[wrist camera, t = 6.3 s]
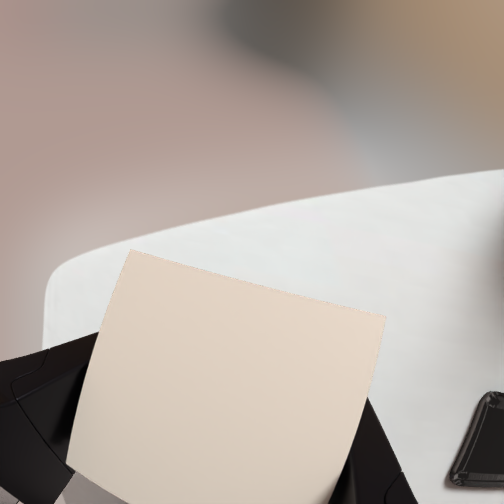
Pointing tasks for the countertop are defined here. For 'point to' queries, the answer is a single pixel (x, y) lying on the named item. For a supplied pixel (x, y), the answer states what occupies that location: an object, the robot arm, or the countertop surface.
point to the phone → (483, 446)
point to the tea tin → (220, 390)
